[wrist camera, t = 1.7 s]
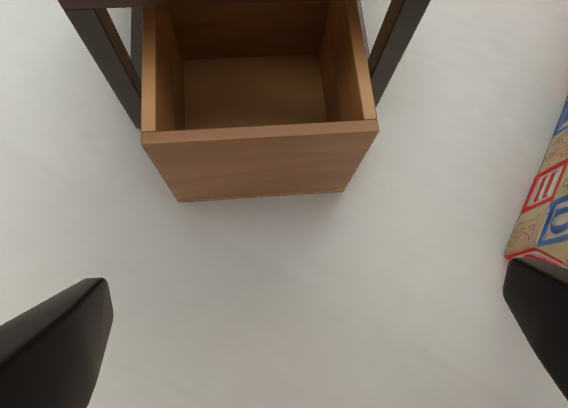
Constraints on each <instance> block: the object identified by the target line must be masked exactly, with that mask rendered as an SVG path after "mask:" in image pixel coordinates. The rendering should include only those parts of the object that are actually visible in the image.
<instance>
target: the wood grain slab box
mask: <svg viewBox="0 0 568 408" xmlns="http://www.w3.org/2000/svg"><path fill="white" fill-rule="evenodd" d="M376 119H377V115H376V109H375V104H374V98H373V92H372V86H371V80H370V74H369V68H368V62H367V56H366V50H365V45H364V39H363V33H362V27H361V21H360V15H359V9H358V3H357V0H341V1H310V2H279V3H248V4H217V5H186V6H155V7H143V19H142V98H141V132H142V133H141V145H142V147H143V148H144V150H145V151H146V153H147V154H148V156H149V157H150V159H151V160H152V162H153V164H154V165H155V167H156V168H157V170H158V171H159V173H160V174H161V176H162V178H163V179H164V181H165V182H166V184H167V185H168V187H169V188H170V190H171V191H172V193H173V195H174V196H175V198H176V199H177V201H178V202H190V201H204V200H219V199H234V198H249V197H264V196H279V195H294V194H309V193H323V192H338V191H344V190H345V188H346V186H347V185H348V183H349V181H350V180H351V178H352V176H353V175H354V173H355V171H356V169H357V168H358V166H359V164H360V163H361V161H362V159H363V158H364V156H365V154H366V152H367V151H368V149H369V147H370V146H371V144H372V142H373V141H374V139H375V137H376V136H377V134H378V132H379V127H378V121H377V120H376Z"/></svg>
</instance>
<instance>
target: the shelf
mask: <svg viewBox="0 0 568 408" xmlns="http://www.w3.org/2000/svg"><path fill="white" fill-rule="evenodd" d="M310 1H341V0H58V2H59V3H60V5H61V7H62V8H63V9H64V12H65V13H66V15H67V16H68V18H69V20H70V21H71V23H72V24H73V26H74V28H75V29H76V31H77V33H78V34H79V36H80V37H81V39H82V41H83V42H84V44H85V46H86V47H87V49H88V50H89V52H90V54H91V55H92V57H93V59H94V60H95V62H96V63H97V65H98V67H99V68H100V70H101V72H102V73H103V75H104V76H105V78H106V80H107V81H108V83H109V85H110V86H111V88H112V89H113V91H114V93H115V94H116V96H117V97H118V99H119V101H120V102H121V104H122V106H123V107H124V109H125V110H126V112H127V114H128V115H129V117H130V119H131V120H132V122H133V123H134V125H135V127H136V128H141V98H142V19H143V7H155V6H186V5H217V4H248V3H279V2H310ZM430 1H431V0H392V1H391V3H390V6H389V8H388V11H387V13H386V16H385V18H384V21H383V23H382V26H381V28H380V31H379V34H378V36H377V39H376V41H375V44H374V46H373V49H372V51H371V54H370V55H369V49H368V44H367V38H366V32H365V26H364V20H363V15H362V9H361V3H360V0H357V3H358V9H359V15H360V21H361V27H362V33H363V39H364V45H365V50H366V56H367V62H368V68H369V74H370V80H371V86H372V92H373V98H374V104H375V108H376V106H377V104H378V102H379V100H380V98H381V96H382V94H383V92H384V90H385V89H386V87H387V85H388V83H389V81H390V79H391V77H392V75H393V73H394V71H395V69H396V67H397V65H398V63H399V61H400V59H401V57H402V55H403V53H404V51H405V49H406V48H407V46H408V44H409V42H410V40H411V38H412V36H413V34H414V32H415V30H416V28H417V26H418V24H419V22H420V20H421V18H422V16H423V14H424V12H425V10H426V8H427V7H428V5H429V3H430ZM124 7H132V17H131V59H130V57H129V55H128V53H127V51H126V49H125V47H124V44H123V42H122V40H121V38H120V36H119V34H118V32H117V30H116V28H115V26H114V24H113V22H112V20H111V17H110V15H109V13H108V11H107V9H106V8H124Z"/></svg>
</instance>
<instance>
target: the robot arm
mask: <svg viewBox="0 0 568 408" xmlns="http://www.w3.org/2000/svg"><path fill="white" fill-rule="evenodd" d="M503 296H504V299H505V301H506V303H507V305H508V306H509V308H510V310H511V312H512V313H513V315H514V317H515V319H516V321H517V322H518V324H519V326H520V328H521V330H522V331H523V333H524V335H525V337H526V338H527V340H528V342H529V344H530V346H531V347H532V349H533V351H534V352H535V354H536V356H537V357H538V359H539V360H540V362H541V363H542V365H543V366H544V368H545V369H546V370H547V372H548V373H549V375H550V376H551V378H552V379H553V380H554V382H555V383H556V385H557V386H558V388H559V389H560V391H561V392H562V393H563V395H564V396H565V398H566V399H567V401H568V269H566V268H563V267H560V266H557V265H554V264H551V263H548V262H545V261H542V260H539V259H536V258H533V257H515V258H512V259H511V260H510V261H509V263H508V267H507V271H506V276H505V281H504V285H503ZM112 322H113V307H112V302H111V297H110V292H109V287H108V283H107V281H106V280H105V279H104V278H87V279H84V280H82V281H80V282H78V283H76V284H74V285H73V286H71V287H69V288H67V289H65V290H64V291H62V292H60V293H58V294H57V295H55V296H53V297H51V298H49V299H48V300H46V301H44V302H42V303H40V304H39V305H37V306H35V307H33V308H31V309H30V310H28V311H26V312H24V313H22V314H21V315H19V316H17V317H15V318H13V319H12V320H10V321H8V322H6V323H4V324H3V325H1V326H0V408H87V406H88V404H89V401H90V398H91V396H92V393H93V390H94V388H95V385H96V382H97V378H98V375H99V371H100V367H101V364H102V360H103V356H104V352H105V348H106V345H107V341H108V337H109V333H110V330H111V326H112Z"/></svg>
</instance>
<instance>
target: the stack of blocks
mask: <svg viewBox="0 0 568 408" xmlns="http://www.w3.org/2000/svg"><path fill="white" fill-rule="evenodd" d="M505 257H506V258H507V259H509V260H511V259H512V258H515V257H533V258H536V259H539V260H542V261H545V262H548V263H551V264H554V265H557V266H560V267H563V268H566V269H568V97H567V103H566V105H565V108H564V110H563V113H562V115H561V118H560V120H559V123H558V125H557V128H556V130H555V133H554V138H553V139H552V141H551V144H550V146H549V149H548V151H547V154H546V156H545V159H544V162H543V164H542V166H541V169H540V171H539V174H538V175H537V176H536V178H535V180H534V183H533V185H532V187H531V190H530V192H529V195H528V197H527V200H526V202H525V205H524V207H523V209H522V212H521V216H520V217H519V219H518V221H517V223H516V226H515V228H514V231H513V233H512V236H511V238H510V241H509V243H508V246H507V248H506V251H505Z"/></svg>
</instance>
